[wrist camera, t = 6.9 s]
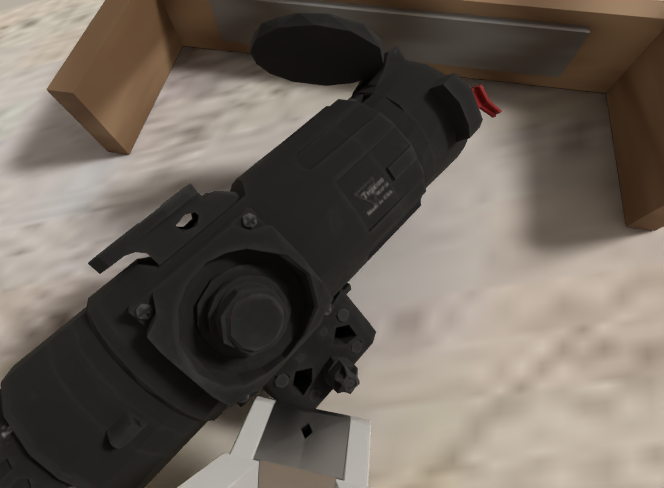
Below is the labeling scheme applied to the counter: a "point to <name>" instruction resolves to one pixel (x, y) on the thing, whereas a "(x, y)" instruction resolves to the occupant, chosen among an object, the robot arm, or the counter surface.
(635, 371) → the counter surface
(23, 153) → the counter surface
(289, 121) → the counter surface
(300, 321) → the night vision scope
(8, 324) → the counter surface
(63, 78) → the bracket
